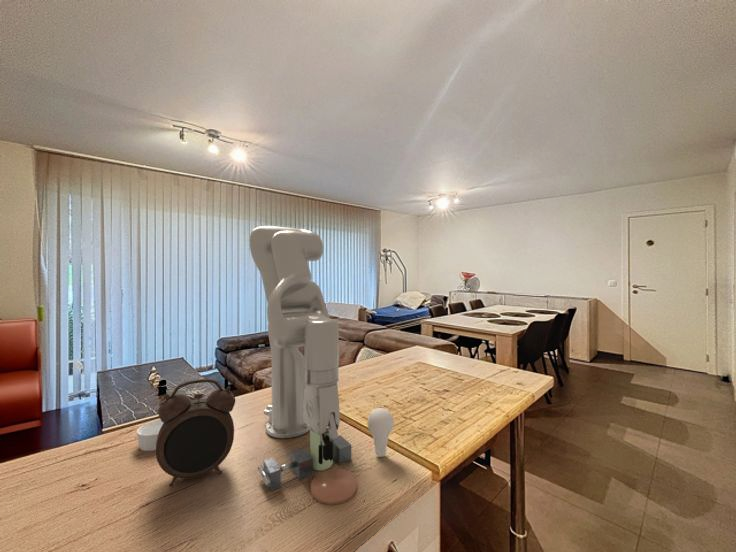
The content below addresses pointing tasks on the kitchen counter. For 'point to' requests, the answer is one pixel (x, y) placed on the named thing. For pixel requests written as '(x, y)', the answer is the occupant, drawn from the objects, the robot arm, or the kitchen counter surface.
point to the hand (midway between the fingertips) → (321, 456)
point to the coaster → (334, 486)
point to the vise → (301, 463)
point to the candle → (317, 452)
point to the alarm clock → (195, 432)
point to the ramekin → (149, 435)
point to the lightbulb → (380, 429)
